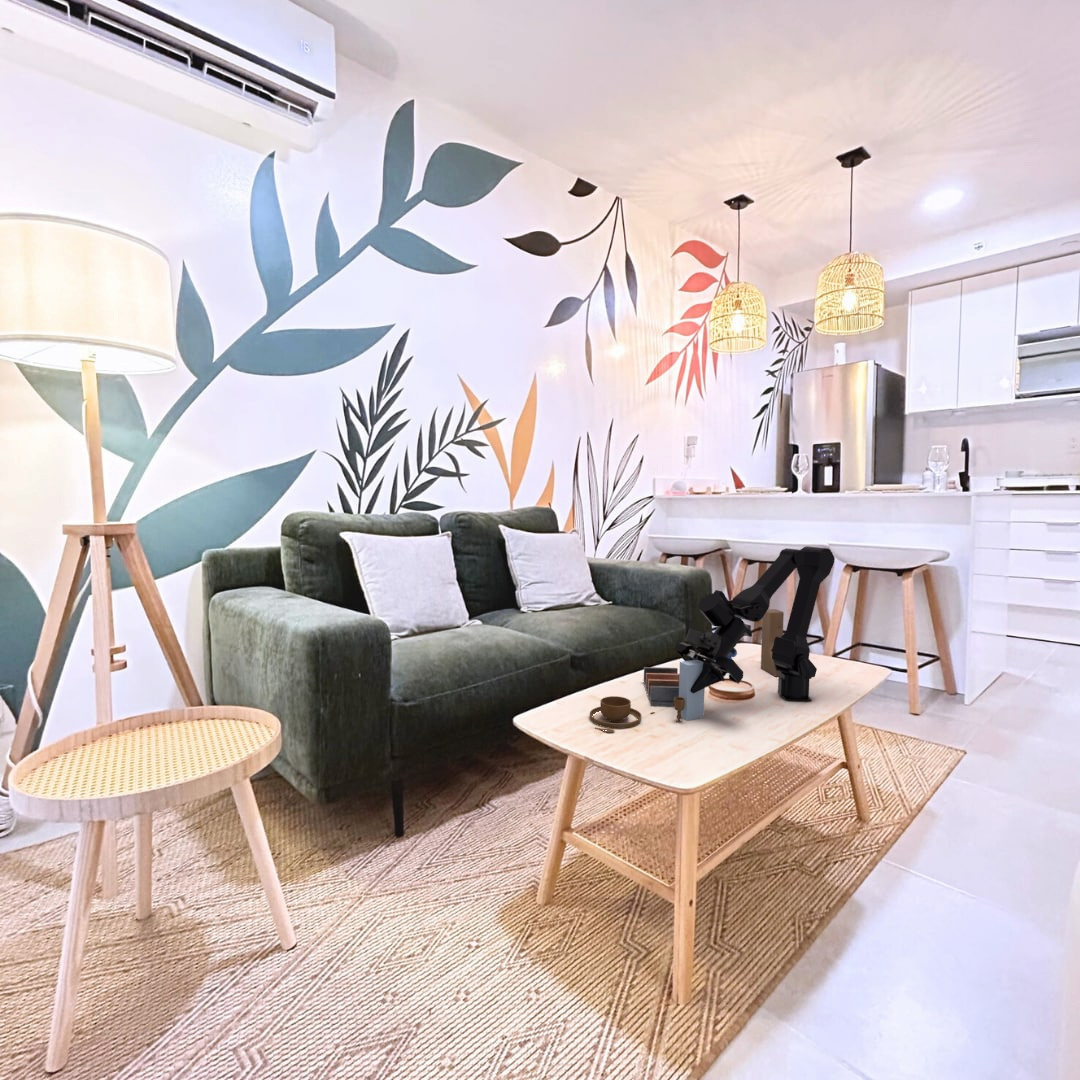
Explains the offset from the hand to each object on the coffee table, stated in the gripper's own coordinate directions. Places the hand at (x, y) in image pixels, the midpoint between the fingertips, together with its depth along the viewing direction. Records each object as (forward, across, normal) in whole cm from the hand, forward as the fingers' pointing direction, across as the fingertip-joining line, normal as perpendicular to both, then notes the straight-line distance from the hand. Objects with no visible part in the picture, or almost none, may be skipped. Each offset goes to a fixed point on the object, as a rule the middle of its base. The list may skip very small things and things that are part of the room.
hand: (686, 689), depth 140 cm
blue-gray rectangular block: (+4, 0, +6) cm, 7 cm away
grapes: (-21, -28, +31) cm, 47 cm away
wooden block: (-28, -18, +38) cm, 51 cm away
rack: (+1, -16, +9) cm, 18 cm away
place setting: (+15, -3, -4) cm, 15 cm away
